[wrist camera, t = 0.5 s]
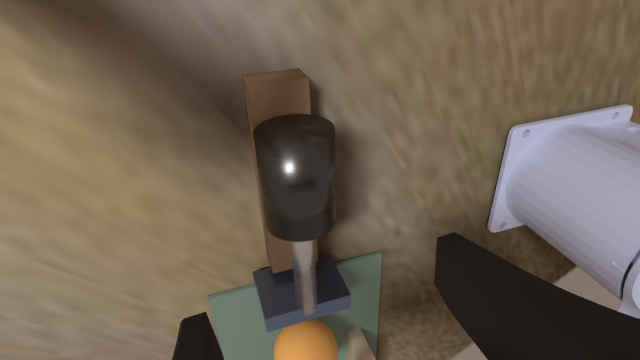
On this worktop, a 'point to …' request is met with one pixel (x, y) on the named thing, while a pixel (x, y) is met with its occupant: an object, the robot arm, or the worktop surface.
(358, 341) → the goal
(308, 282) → the dark grey round-headed part
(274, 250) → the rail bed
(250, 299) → the mat
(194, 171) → the worktop surface
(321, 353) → the ball
